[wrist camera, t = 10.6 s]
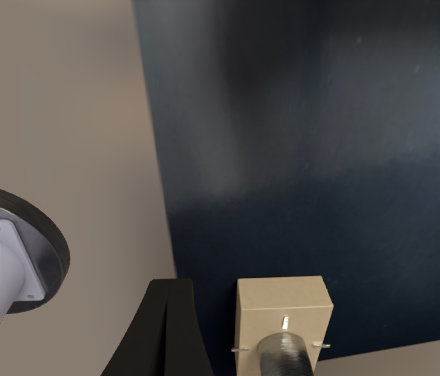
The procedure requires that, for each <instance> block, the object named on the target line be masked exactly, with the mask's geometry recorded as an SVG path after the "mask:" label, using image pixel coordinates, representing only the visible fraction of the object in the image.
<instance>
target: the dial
mask: <svg viewBox="0 0 440 376" xmlns="http://www.w3.org/2000/svg"><path fill="white" fill-rule="evenodd" d="M257 353H258V360H259V366H260V373H261V376H314V373H313V369H312V366H311V362H310V359H309V355H308V352H307V348H306V345H305V341H304V340H303V339H302V338H301V337H300V336H298V335H296V334H292V333H279V334H274V335H271V336H268V337H266V338H265V339H263V340H262V341H261V342H260V343H259V345H258V347H257Z"/></svg>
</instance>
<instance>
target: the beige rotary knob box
mask: <svg viewBox="0 0 440 376" xmlns="http://www.w3.org/2000/svg"><path fill="white" fill-rule="evenodd" d="M332 309H333V304H332V302H331V299H330V297H329V294H328V292H327V289H326V287H325V284H324V282H323V280H322V277H321V276H303V277H276V278H249V279H238V280H237V301H236V324H235V347H232V352H233V351H235V359H236V370H237V376H261V373H260V366H259V360H258V353H257V347H258V345H259V343H260V342H261V341H262V340H263V339H265V338H266V337H268V336H271V335H274V334H279V333H292V334H296V335H298V336H300V337H301V338H302V339H303V340H304V341H305V345H306V348H307V352H308V355H309V359H310V362H311V366H312V369H313V371H314V368H315V365H316V362H317V359H318V355H319V352H320V349H321V348H322V347H330V343H322V342H323V339H324V336H325V332H326V329H327V326H328V322H329V319H330V316H331V313H332Z"/></svg>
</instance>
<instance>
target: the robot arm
mask: <svg viewBox="0 0 440 376" xmlns="http://www.w3.org/2000/svg"><path fill="white" fill-rule="evenodd" d="M45 295H46V294H45V291H44V289H43V287H42V284H41V282H40V280H39V278H38V276H37V274H36V271H35V269H34V267H33V265H32V263H31V260H30V258H29V256H28V254H27V252H26V249H25V247H24V245H23V243H22V241H21V239H20V236H19V234H18V232H17V230H16V228H15V225H14V224H13V223H12V222H11V221H9V220H5V219H2V220H0V323H1V321H2V320H3V318H4V316H5V315H6V313H7V311H8V310H9V308H10V306H11V305H12V303H13V302H14V301H36V300H42V299H43V298H44V297H45ZM101 376H214V374H213V371H212V368H211V365H210V362H209V359H208V356H207V353H206V350H205V347H204V344H203V340H202V336H201V333H200V329H199V325H198V321H197V317H196V312H195V307H194V296H193V283H192V280H191V279H190V278H178V279H153V280H152V281H150V283H149V286H148V288H147V291H146V293H145V295H144V298H143V300H142V302H141V304H140V306H139V308H138V310H137V313H136V314H135V316H134V318H133V320H132V322H131V324H130V326H129V328H128V330H127V332H126V333H125V335H124V337H123V339H122V341H121V343H120V345H119V346H118V348H117V350H116V351H115V353H114V354H113V356H112V358H111V360H110V361H109V363H108V364H107V366H106V368H105V369H104V371H103V372H102V374H101Z"/></svg>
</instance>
